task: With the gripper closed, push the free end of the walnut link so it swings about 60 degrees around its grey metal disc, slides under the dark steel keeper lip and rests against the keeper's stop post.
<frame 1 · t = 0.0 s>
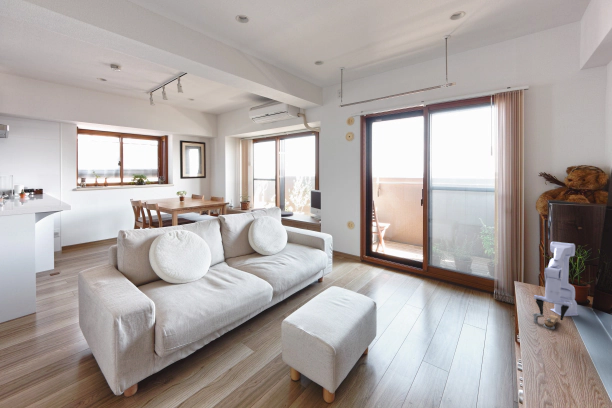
hand: (551, 317, 138), 10 cm above the tv stand, tool pointing down, fingers open, 7 cm apart
link: (551, 319, 148), point 3 cm above the tv stand, hinge at 0.0°
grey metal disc: (548, 326, 146), on the tv stand
keeper: (535, 322, 151), on the tv stand
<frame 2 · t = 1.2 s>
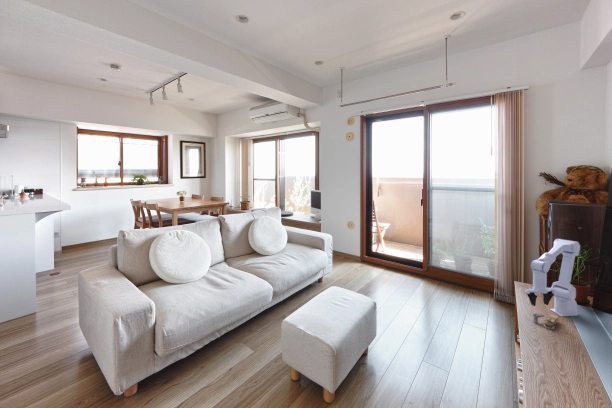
hand: (539, 304, 150), 10 cm above the tv stand, tool pointing down, fingers open, 6 cm apart
nothing on the tv stand moved.
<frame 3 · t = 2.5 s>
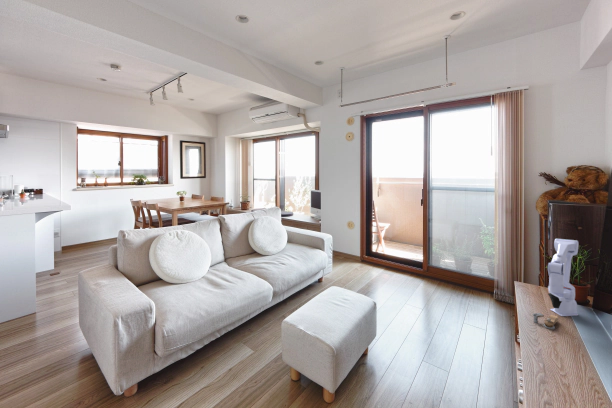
hand: (555, 307, 147), 10 cm above the tv stand, tool pointing down, fingers closed
nothing on the tv stand moved.
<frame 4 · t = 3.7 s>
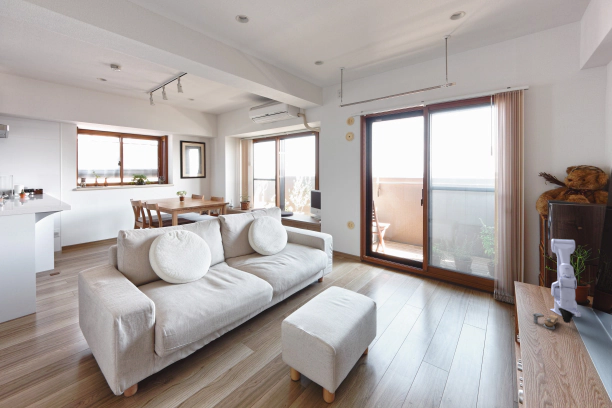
hand: (566, 322, 145), 2 cm above the tv stand, tool pointing down, fingers closed
nothing on the tv stand moved.
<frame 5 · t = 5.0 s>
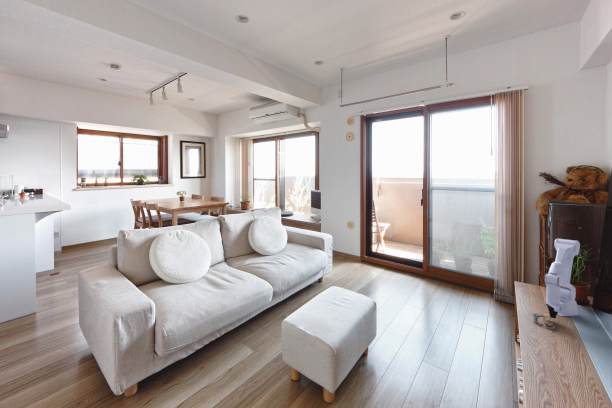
hand: (552, 317, 150), 2 cm above the tv stand, tool pointing down, fingers closed, pressing on link
link: (547, 318, 149), point 3 cm above the tv stand, hinge at 22.6°, touching gripper
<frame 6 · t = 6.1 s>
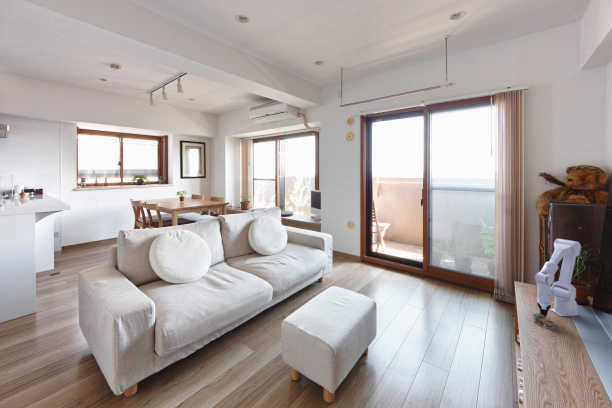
hand: (543, 315, 153), 2 cm above the tv stand, tool pointing down, fingers closed
link: (543, 318, 149), point 3 cm above the tv stand, hinge at 50.4°, touching gripper
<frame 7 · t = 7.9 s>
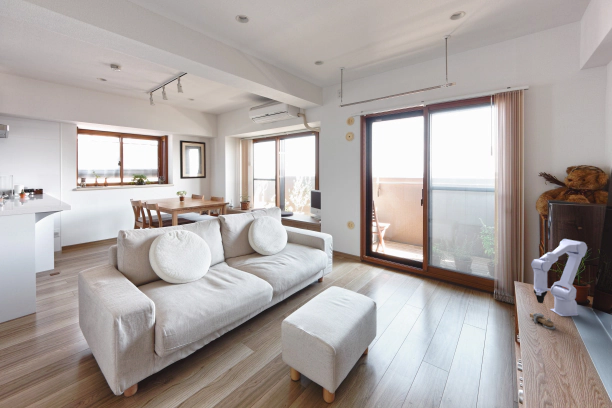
hand: (540, 302, 154), 9 cm above the tv stand, tool pointing down, fingers closed
link: (541, 318, 149), point 3 cm above the tv stand, hinge at 64.8°
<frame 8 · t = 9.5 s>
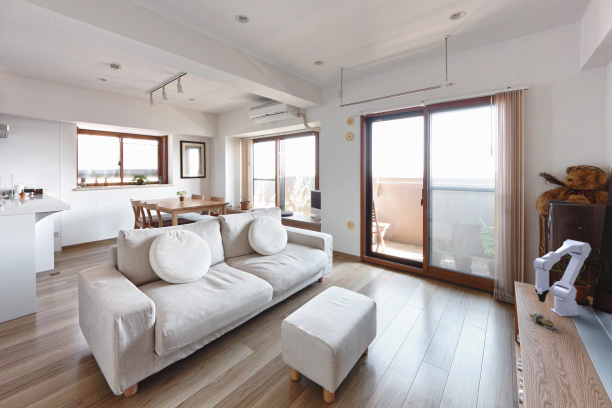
hand: (541, 301, 155), 9 cm above the tv stand, tool pointing down, fingers closed
nothing on the tv stand moved.
at the end: link at +65° (first picture: +0°) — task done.
